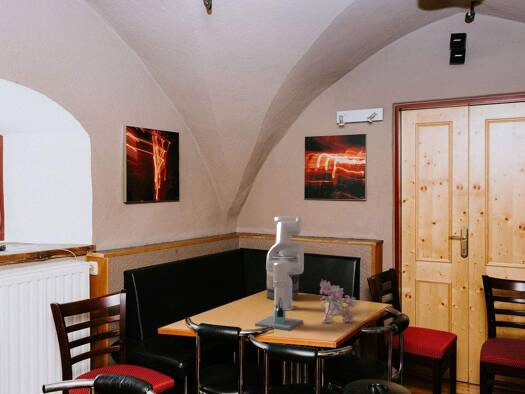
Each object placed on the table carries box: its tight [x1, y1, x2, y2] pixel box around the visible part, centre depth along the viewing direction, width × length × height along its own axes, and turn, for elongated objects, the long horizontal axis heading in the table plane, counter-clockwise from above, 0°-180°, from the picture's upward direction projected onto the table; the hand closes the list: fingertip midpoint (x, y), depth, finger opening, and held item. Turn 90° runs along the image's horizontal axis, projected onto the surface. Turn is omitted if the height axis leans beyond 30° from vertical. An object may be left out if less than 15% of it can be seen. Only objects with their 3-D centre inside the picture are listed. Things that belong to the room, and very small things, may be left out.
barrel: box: [266, 252, 300, 301], centre depth 358 cm, size 22×22×30 cm
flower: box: [319, 279, 357, 324], centre depth 290 cm, size 20×22×25 cm
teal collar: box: [273, 307, 286, 323], centre depth 284 cm, size 6×6×7 cm
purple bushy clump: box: [320, 295, 338, 316], centre depth 313 cm, size 12×9×12 cm
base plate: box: [254, 315, 304, 332], centre depth 284 cm, size 20×20×2 cm
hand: (279, 314), depth 284 cm, fingers open, 9 cm apart
